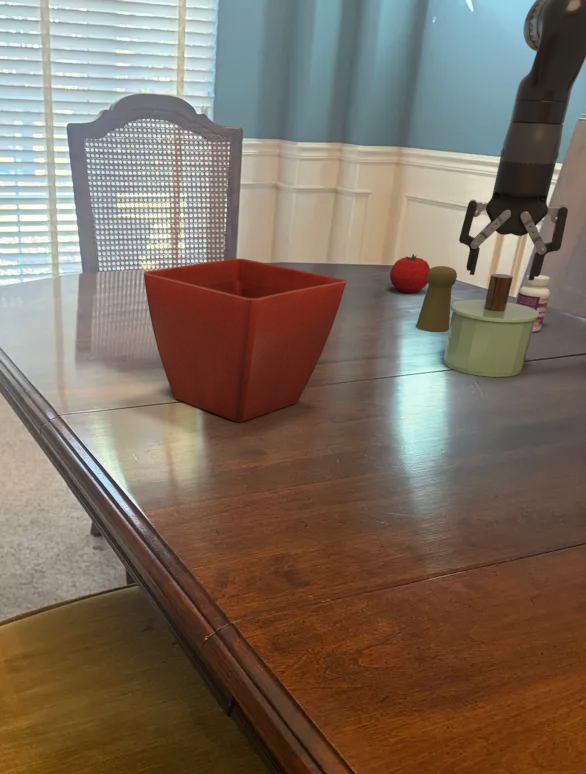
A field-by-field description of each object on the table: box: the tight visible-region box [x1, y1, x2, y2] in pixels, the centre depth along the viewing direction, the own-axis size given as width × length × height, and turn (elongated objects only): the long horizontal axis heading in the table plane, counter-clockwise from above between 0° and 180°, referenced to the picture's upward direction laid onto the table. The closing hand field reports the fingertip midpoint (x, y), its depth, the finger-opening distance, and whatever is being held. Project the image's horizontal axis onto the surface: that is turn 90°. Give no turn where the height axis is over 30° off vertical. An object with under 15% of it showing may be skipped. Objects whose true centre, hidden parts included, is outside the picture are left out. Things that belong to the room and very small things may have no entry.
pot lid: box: [450, 273, 539, 323], centre depth 119 cm, size 13×13×6 cm
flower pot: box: [143, 258, 347, 423], centre depth 102 cm, size 19×19×17 cm
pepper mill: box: [415, 265, 458, 333], centre depth 143 cm, size 6×6×11 cm
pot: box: [443, 311, 535, 378], centre depth 122 cm, size 12×12×8 cm
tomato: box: [389, 253, 431, 294], centre depth 171 cm, size 9×9×8 cm
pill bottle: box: [515, 274, 551, 333], centre depth 144 cm, size 5×5×10 cm
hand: (500, 276), depth 118 cm, fingers open, 8 cm apart
